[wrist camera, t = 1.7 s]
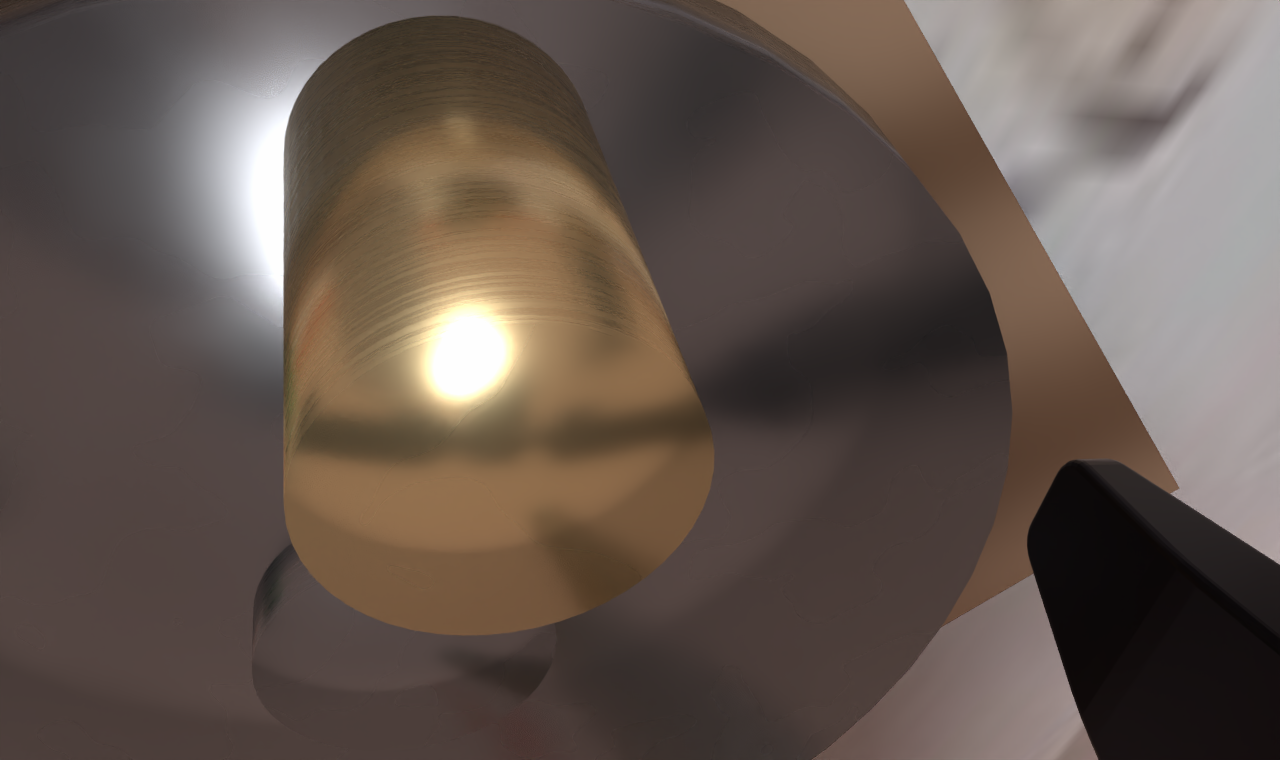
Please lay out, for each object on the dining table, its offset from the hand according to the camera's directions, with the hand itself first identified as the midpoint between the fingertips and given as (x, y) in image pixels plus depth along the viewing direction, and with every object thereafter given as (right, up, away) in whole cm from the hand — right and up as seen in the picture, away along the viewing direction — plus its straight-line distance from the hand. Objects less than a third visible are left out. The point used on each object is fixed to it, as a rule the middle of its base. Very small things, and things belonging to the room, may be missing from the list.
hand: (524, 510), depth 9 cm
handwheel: (-3, -1, +9) cm, 10 cm away
